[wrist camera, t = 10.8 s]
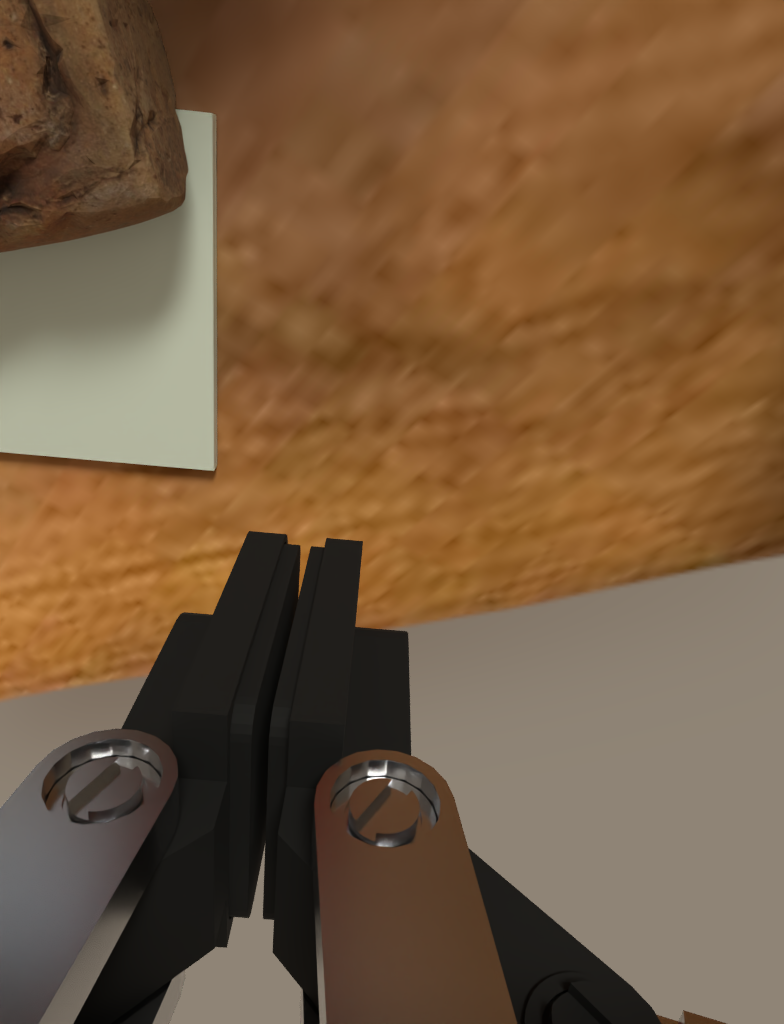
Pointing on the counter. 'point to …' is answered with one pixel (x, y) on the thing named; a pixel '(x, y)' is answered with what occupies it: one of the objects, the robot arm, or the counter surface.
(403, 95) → the counter surface
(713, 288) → the counter surface
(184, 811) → the robot arm
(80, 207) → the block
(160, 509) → the counter surface
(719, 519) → the counter surface
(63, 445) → the cutting board
